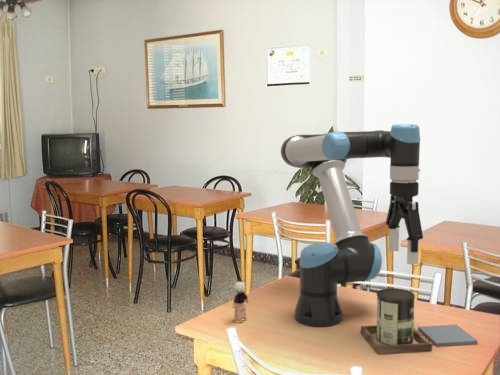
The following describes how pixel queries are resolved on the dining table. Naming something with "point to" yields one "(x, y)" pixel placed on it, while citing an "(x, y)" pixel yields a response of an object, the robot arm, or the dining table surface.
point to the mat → (447, 335)
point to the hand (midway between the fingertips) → (402, 257)
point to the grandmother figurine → (240, 302)
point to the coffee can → (395, 316)
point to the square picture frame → (393, 349)
